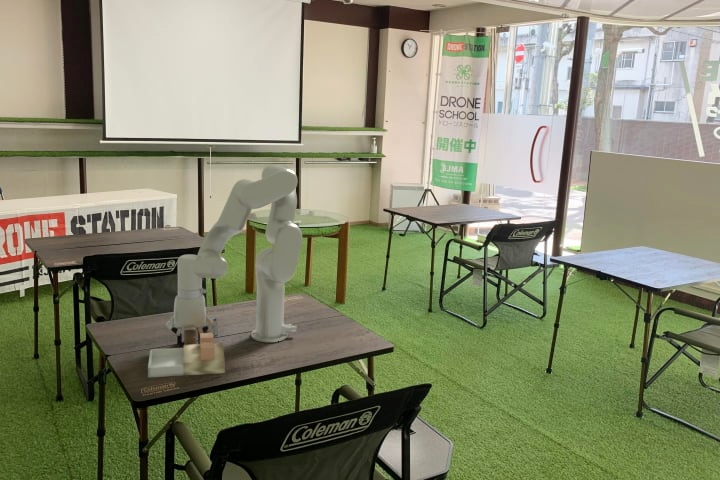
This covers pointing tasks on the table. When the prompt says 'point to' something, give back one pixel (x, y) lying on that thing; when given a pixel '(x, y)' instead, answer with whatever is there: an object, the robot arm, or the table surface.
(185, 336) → the brown tapered block
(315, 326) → the table surface
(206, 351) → the tan wooden cube
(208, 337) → the pink cube
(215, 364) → the beige flat block
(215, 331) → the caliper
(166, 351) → the tray
